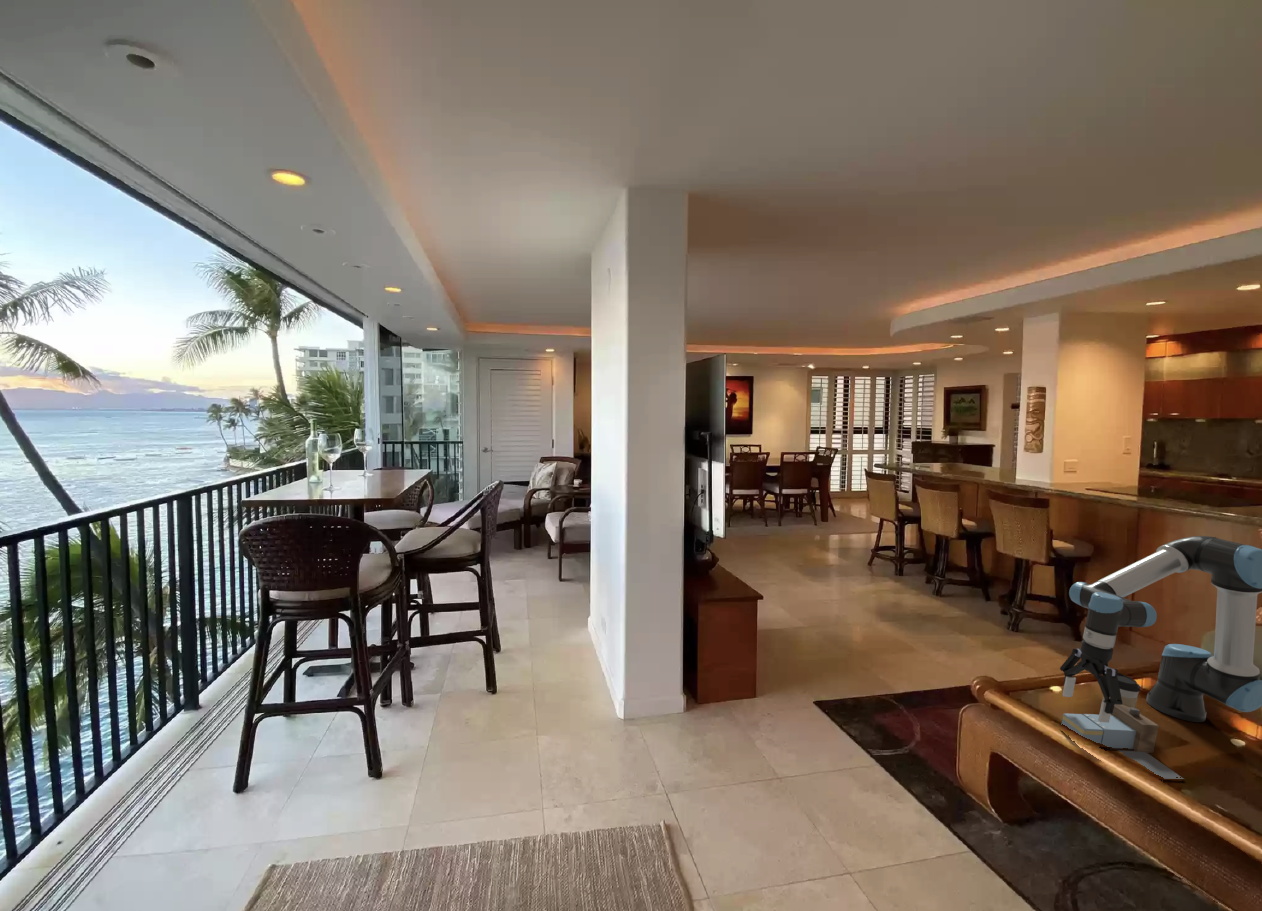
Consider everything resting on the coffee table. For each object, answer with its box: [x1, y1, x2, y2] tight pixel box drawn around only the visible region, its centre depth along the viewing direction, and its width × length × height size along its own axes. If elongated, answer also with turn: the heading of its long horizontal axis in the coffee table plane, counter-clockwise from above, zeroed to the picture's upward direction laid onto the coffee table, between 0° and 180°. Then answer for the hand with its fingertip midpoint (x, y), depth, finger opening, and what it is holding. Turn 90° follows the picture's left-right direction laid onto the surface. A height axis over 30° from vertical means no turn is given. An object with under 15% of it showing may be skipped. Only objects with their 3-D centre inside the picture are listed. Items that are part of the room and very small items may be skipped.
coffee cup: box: [1102, 672, 1141, 708], centre depth 189 cm, size 9×9×15 cm
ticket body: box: [1082, 713, 1136, 750], centre depth 177 cm, size 14×8×6 cm, turn 92°
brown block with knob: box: [1111, 704, 1160, 754], centre depth 177 cm, size 5×11×11 cm, turn 2°
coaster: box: [1117, 749, 1184, 779], centre depth 165 cm, size 12×12×1 cm
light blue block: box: [1061, 712, 1103, 744], centre depth 176 cm, size 6×8×6 cm
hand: (1084, 708), depth 175 cm, fingers open, 13 cm apart
